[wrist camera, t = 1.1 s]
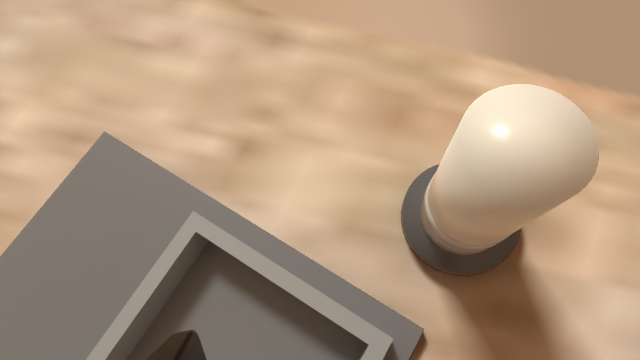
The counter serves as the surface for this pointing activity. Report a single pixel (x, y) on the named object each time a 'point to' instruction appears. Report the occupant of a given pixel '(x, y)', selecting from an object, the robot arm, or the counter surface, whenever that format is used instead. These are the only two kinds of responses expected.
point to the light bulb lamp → (498, 177)
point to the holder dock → (173, 278)
